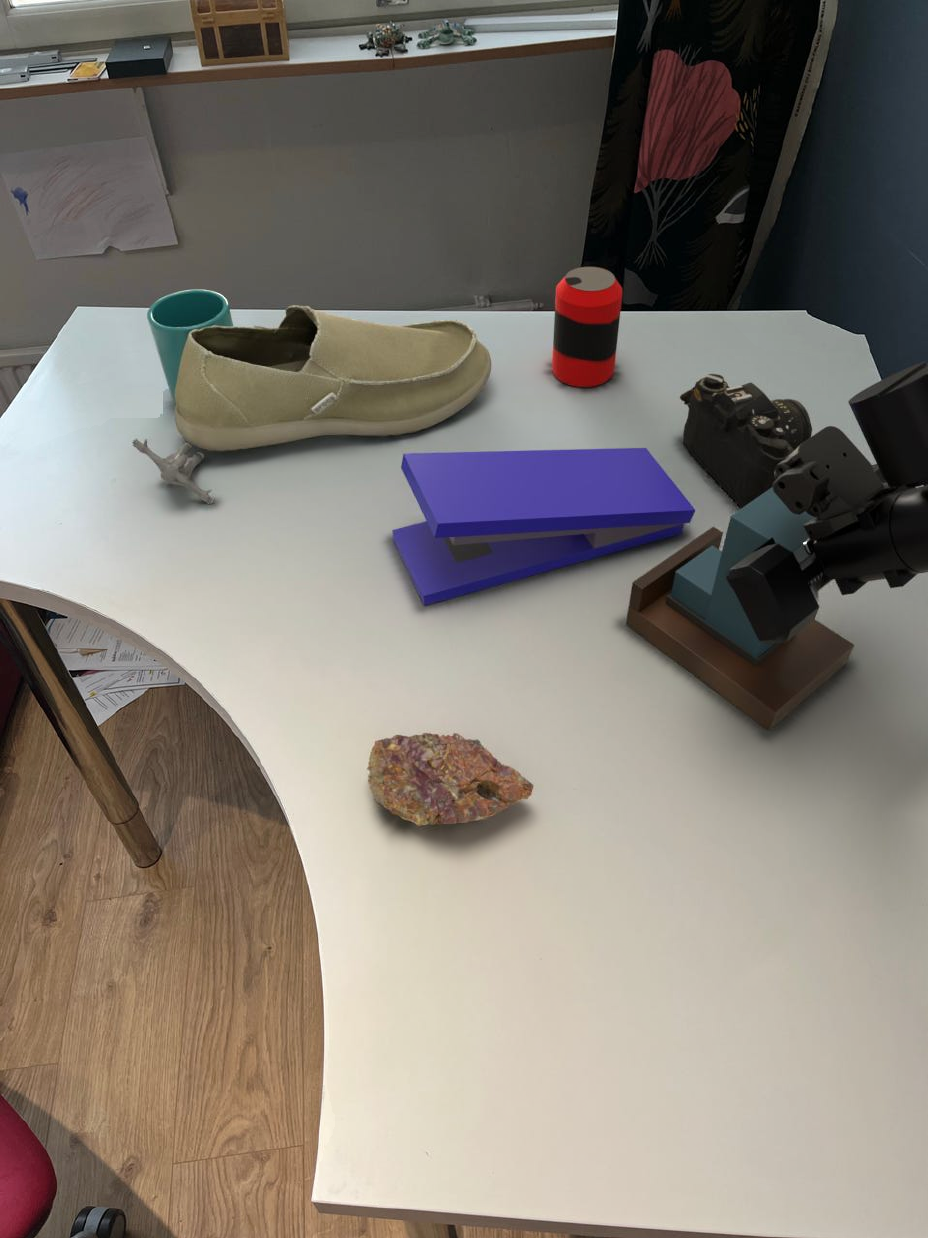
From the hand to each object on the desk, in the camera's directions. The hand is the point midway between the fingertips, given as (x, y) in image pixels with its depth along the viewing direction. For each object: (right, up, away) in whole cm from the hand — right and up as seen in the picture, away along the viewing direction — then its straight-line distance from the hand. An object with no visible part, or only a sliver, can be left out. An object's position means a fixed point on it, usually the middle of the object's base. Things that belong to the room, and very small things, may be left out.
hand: (751, 564), depth 76 cm
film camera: (+7, +12, +24) cm, 28 cm away
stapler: (-16, +4, +17) cm, 24 cm away
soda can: (-9, +26, +37) cm, 46 cm away
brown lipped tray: (0, -7, +7) cm, 10 cm away
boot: (0, -4, +6) cm, 7 cm away
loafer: (-38, +20, +32) cm, 54 cm away
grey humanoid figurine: (-55, +10, +24) cm, 60 cm away
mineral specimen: (-25, -19, -3) cm, 31 cm away
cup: (-55, +24, +37) cm, 70 cm away
